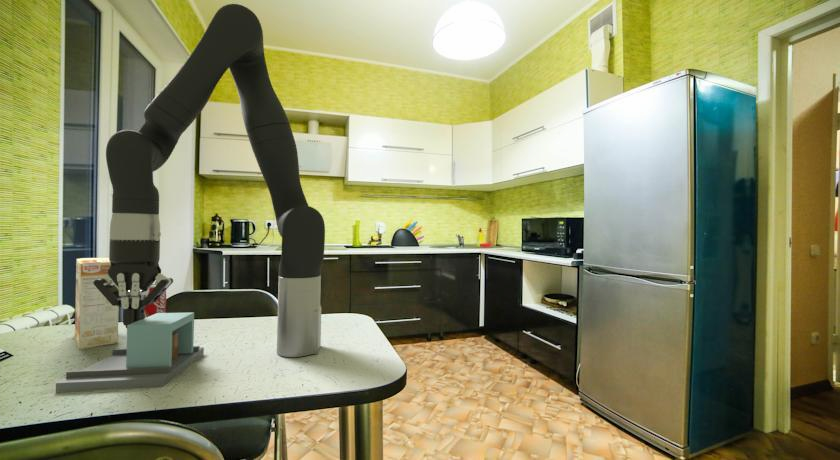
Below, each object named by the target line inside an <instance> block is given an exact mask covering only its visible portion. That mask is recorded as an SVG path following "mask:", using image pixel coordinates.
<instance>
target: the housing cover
mask: <svg viewBox="0 0 840 460" xmlns="http://www.w3.org/2000/svg"><path fill="white" fill-rule="evenodd" d="M175 332H178V354H185V353H192V352H193V346H194V338H195V337H194V336H195V335H194V334H195V333H194V332H195V312H166V313H156V314H154V315H151V316H149V317H146V318H144V319H141V320H139V321H136V322H134V323H132V324H129V325H127V328H126V348H127V353H126V368H141V367H165V366H171V367H172V333H175Z"/></svg>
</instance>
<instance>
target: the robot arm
mask: <svg viewBox="0 0 840 460" xmlns="http://www.w3.org/2000/svg"><path fill="white" fill-rule="evenodd" d="M263 32H264V31H263V27H262V23H261V22H260V20H259V17H257V15H256V13H255V12H253V10H251V9H249V8H248V7H247V6H245V5H241V4H239V3H230V4H225V5H223V6H221V7H219V9H218V10H217V11H216V12H215V14H214V15H213V17H212V18H211V20H210V22H209V24H208V26H207V27H206V29H205V31H204V33H203V35H202V37H201V38H200V40H199V42H198V43H197V44H196V45H195V48H194V49H193V51H192V52H191V53H190V55H189V56H188V57H187V59H186V61H185V62H184V63H183V65H182V66H181V67H180V68H179V70H178V71H177V73H175V74H174V75H173V77H172V78H171V79H170V81H168V82H167V84H166V85H165V86H164V87H163V88H162V89H161V90H160V92H159V93H157V95H156V96H155V97H154V98H153V100H151V102H149V104H148V105H147V106H146V108H145V110H144V112H143V118H144V123H143V125H142V126H141V127H140V129H139V130H138V131H136V130H132V129H123V130H120V131H119V130H118V131H117V132H115V133H114V134H113V135H111V136H110V137H109V139H108V141H107V144H106V149H105V158H106V159H105V160H106V165H107V169H108V175H109V179H110V183H111V187H112V200H111V201H112V202H111V203H112V204H111V212H112V213H111V219H110V222H109V223H110V225H109V247H108V249H109V251H108V252H109V254H108V255H109V257H108V258H109V261H110V263H111V266H110V268H109V269H108V274H107V275H106V276H104V277H103V278H101V279H98V280H95V281H94V285H95V286H96V287H97V289H98V290H99V291H100V292H101V293H102V294H103V295H104V297H105V298H106V299H107V300H108V301H109V302H110V303H111V305H113V306H119V307H120V308H122V310H123V311H122V314H123V315H122V317H123V318H122V324H123V326H125V328H126V329H127V325H129V324H132V323H134V322H136V321H139V320H141V319H144V308H145V306H146V305H149V304H151V303H155V302H156V301H157V300H158V299H159V297H160V296H161V295H162V294H163V293H164V292H165V291H166V292H167V290H168V289H169V288H170V286H171V285H172V284H173V283H174V279H173V278H172V277H169V278H168V277H167V276H165V275H164V274H162V269H161V267H160V265H159V262H160V254H161V236H162V235H161V223H160V193H159V189H158V188H157V187H156V186H155V184H154V178H153V177H154V176H153V172H155V171H157V170H159V169H161V167H162V166H163V165H165V163H166V162H168V159H170V156H171V155H172V153H173V152H174V150H175V147H176V146H177V144H178V142H179V140H180V138H181V136H182V135H183V133H184V132H185V131H186V130H188V128H189V126H190V125H191V124H192V123H193V122H194V121H195V119H197V117H199V115H200V114H201V112H202V111H203V110H204V108H205V107H206V106H207V103H208V102H209V100H210V98H211V96H212V94H213V92H214V90H215V88H216V87H217V85H218V83H219V82H220V80H221V78H222V77H223V76H224V75H225V73H226V72H227V70H228V69H229V72H230V74H231V77H232V78H233V81H234V84H235V86H236V90H237V94H238V98H239V105H240V110H241V111H240V112H241V115H242V119H243V124H244V127H245V131H246V135H247V138H248V141H249V144H250V146H251V150H252V153H253V154H254V158H255V160H256V163H257V164H258V167H259V170H260V173H261V175H262V177H263V180H264V182H265V184H266V186H267V189H268V192H269V195H270V198H271V203H272V206H273V212H274V216H275V221H276V226H277V231H278V234H279V236H280V237H281V252H280V253H281V255H280V261H279V265H278V289H277V290H278V291H277V292H278V294H277V323H276V327H277V328H276V331H277V332H276V335H277V337H276V353H277V355H279V356H281V357H285V358H286V357H287V358H300V357H305V356H306V357H307V356H309V355H317V354H319V352H320V351H319V350H320V348H321V345H322V343H321V342H322V341H321V337H322V305H321V290H322V289H321V286H322V285H321V283H322V282H321V281H322V266H323V263H324V258H325V245H326V244H325V243H326V239H325V238H326V225H325V221H324V217H323V216H322V214H321V212H320V211H319V210H317V209H316V208H314V207H312V206H309V204H308V202H307V198H306V196H305V194H304V190H303V187H302V184H301V183H302V182H301V178H300V167H299V165H300V164H299V156H298V155H299V153H298V148H297V144H296V140H295V137H294V134H293V130H292V127H291V123H290V122H289V118H288V115H287V114H286V111H285V109H284V107H283V105H282V103H281V101H280V99H279V97H278V96H277V94H276V92H275V90H274V88H273V85H272V82H271V79H270V76H269V71H268V65H267V62H266V56H265V50H264V49H265V48H264V47H265V46H264V33H263ZM114 284H116V285H117V287H118V288H119V290H118V288H117V287H116V286H115V285H114ZM152 284H155V285H156V286H155V287H154V289H153V290H152V291H151V292H150V293H149V288H150V286H151V285H152ZM148 293H149V294H148Z"/></svg>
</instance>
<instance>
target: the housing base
mask: <svg viewBox="0 0 840 460" xmlns="http://www.w3.org/2000/svg"><path fill="white" fill-rule="evenodd" d="M204 348H205V347H201V346H200V345H193V352H192V353H185V354H178V357H177V358H176V359H174V360H173V361H172V367H171V366H165V367H141V368H126V353H127V347H126V348H125V347H124V348H113V349H112V352H111V353H112V354H111V355H109V356H107V357H105V358H103V359H102V360H99V361H97V362H95V363H93V364H91V365H89V366H87V367H85V368H83V369H74V370H68V371H66V372H65V376H66V377H65V378H63V379H61V380H59V381H57V382H55V393H66V392H67V393H68V392H69V393H70V392H83V391H84V392H85V391H105V390H121V389H123V390H124V389H127V390H128V389H140V388H141V389H144V388H161V387H164V386H165V385H167V384H169V382H171V381H172V380H173V379H175V377H177V376H178V375H179V374H181V372H183V371H185V369H187V368H188V367H189V366H191V365H192V364H194V363H195V362H196V361H197V360H198V359H200V358H201V357H202V356H203V355H204V352H205V351H204V350H205V349H204Z"/></svg>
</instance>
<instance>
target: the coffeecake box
mask: <svg viewBox="0 0 840 460" xmlns="http://www.w3.org/2000/svg"><path fill="white" fill-rule="evenodd" d="M75 266H76V268H75V271H76V272H75V307H74V310H75V314H74V315H75V316H74V323H75V324H74V338H75V342H76V345H77V348H78V350H84V349H89V348H90V347H91V348H96V346H97V347H102V346H107V345H108V346H109V345H114V344H118V343H119V313H120V312H119V311H120V309H119V307H120V306H113V305H111V303H110V302H109V301H108V300H107V299H106V298H105V297H104V295H103V294H102V293H101V292H100V291H99V290H98V289H97V287H96V286H95V285H94V281H95V280H98V279H101V278H103V277H104V276H106V275H107V274H108V269H109V268H110V266H111V263H110V261H109V257H81V258H76V260H75ZM114 285H115V286H116V287H117V285H116V284H114ZM117 288H118V287H117ZM118 290H119V288H118ZM91 348H90V349H91Z"/></svg>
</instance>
